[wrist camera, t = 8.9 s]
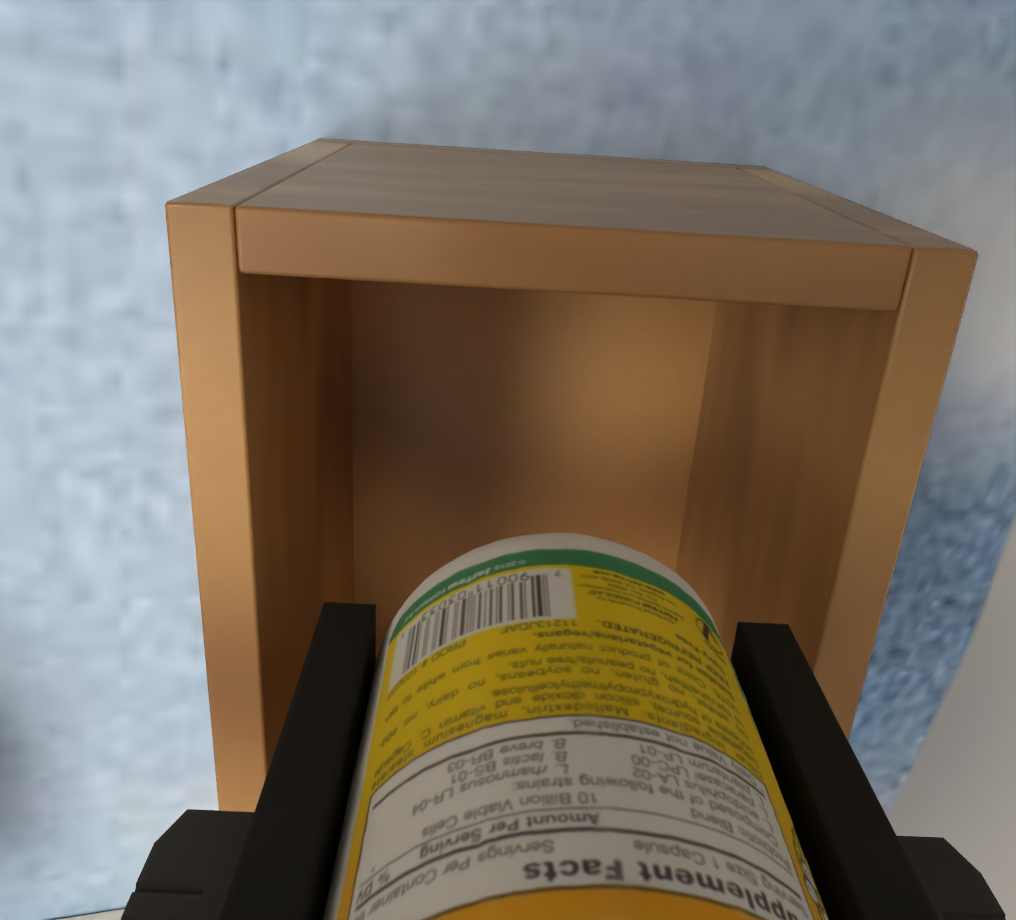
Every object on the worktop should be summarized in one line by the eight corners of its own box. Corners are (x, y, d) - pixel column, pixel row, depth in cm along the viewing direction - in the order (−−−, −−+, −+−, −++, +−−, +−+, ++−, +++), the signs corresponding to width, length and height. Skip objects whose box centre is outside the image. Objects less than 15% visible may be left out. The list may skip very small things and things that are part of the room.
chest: (318, 137, 24) (163, 201, 13) (765, 166, 24) (981, 250, 13) (329, 665, 31) (234, 998, 20) (679, 681, 31) (776, 1016, 20)
